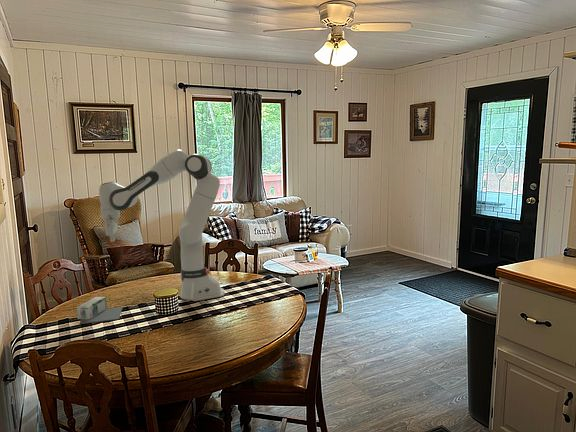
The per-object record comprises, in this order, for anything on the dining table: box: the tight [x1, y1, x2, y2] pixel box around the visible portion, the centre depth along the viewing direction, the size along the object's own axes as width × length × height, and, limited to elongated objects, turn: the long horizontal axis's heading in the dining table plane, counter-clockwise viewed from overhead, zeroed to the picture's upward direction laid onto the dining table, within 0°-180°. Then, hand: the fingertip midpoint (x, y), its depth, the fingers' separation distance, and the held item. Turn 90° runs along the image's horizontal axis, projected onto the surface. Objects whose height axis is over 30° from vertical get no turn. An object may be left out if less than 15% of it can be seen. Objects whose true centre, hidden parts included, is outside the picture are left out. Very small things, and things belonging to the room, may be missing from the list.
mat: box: [79, 306, 123, 325], centre depth 193 cm, size 16×16×1 cm
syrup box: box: [76, 296, 108, 320], centre depth 195 cm, size 6×6×14 cm
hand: (112, 241), depth 215 cm, fingers closed
